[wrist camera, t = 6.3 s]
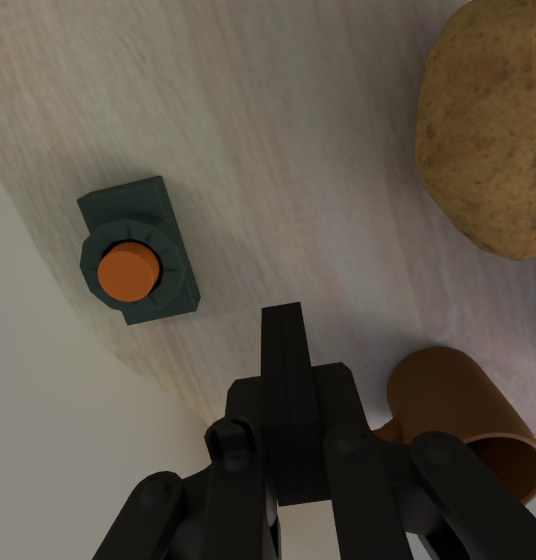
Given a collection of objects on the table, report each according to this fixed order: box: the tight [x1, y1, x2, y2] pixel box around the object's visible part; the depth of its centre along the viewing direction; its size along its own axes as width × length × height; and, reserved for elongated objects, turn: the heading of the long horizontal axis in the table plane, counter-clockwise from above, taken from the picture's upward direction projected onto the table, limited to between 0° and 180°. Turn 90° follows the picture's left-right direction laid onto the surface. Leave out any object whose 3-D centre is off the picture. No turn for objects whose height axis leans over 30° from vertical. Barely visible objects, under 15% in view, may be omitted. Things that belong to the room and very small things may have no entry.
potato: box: [414, 0, 536, 261], centre depth 23 cm, size 10×14×8 cm
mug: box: [372, 347, 536, 506], centre depth 31 cm, size 12×8×9 cm, turn 104°
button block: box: [77, 176, 201, 325], centre depth 28 cm, size 9×6×4 cm
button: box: [98, 242, 159, 302], centre depth 26 cm, size 3×3×2 cm
